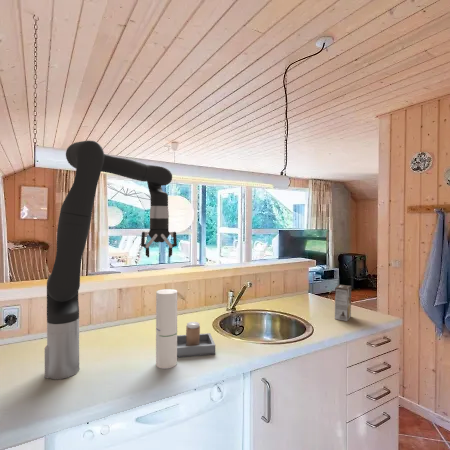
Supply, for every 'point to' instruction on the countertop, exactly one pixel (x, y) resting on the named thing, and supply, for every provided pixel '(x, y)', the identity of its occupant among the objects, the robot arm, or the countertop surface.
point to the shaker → (192, 334)
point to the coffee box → (343, 302)
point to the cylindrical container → (166, 328)
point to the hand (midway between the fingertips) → (159, 257)
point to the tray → (198, 350)
